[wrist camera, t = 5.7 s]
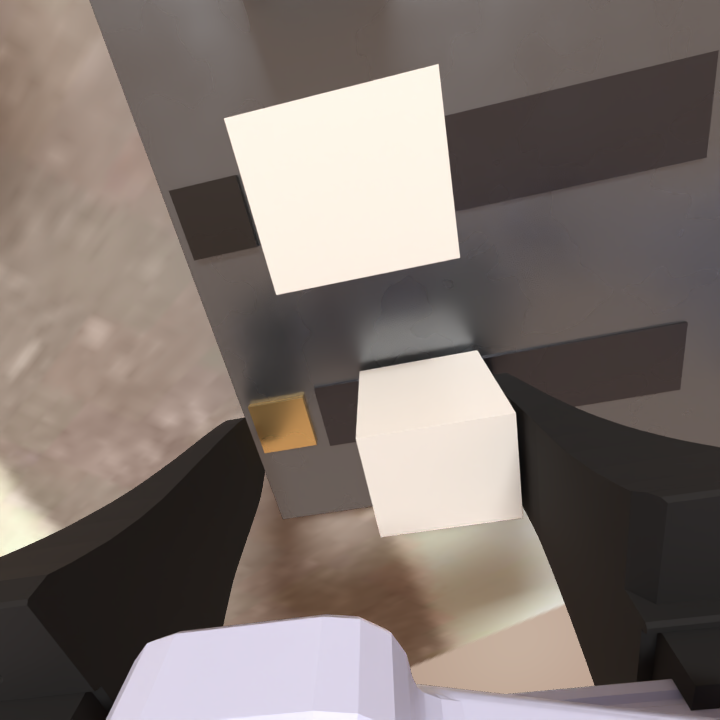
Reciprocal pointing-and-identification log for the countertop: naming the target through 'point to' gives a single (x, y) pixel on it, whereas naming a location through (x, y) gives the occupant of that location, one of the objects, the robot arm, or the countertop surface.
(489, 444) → the switch
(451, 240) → the switch
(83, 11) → the countertop surface
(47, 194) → the countertop surface
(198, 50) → the console
